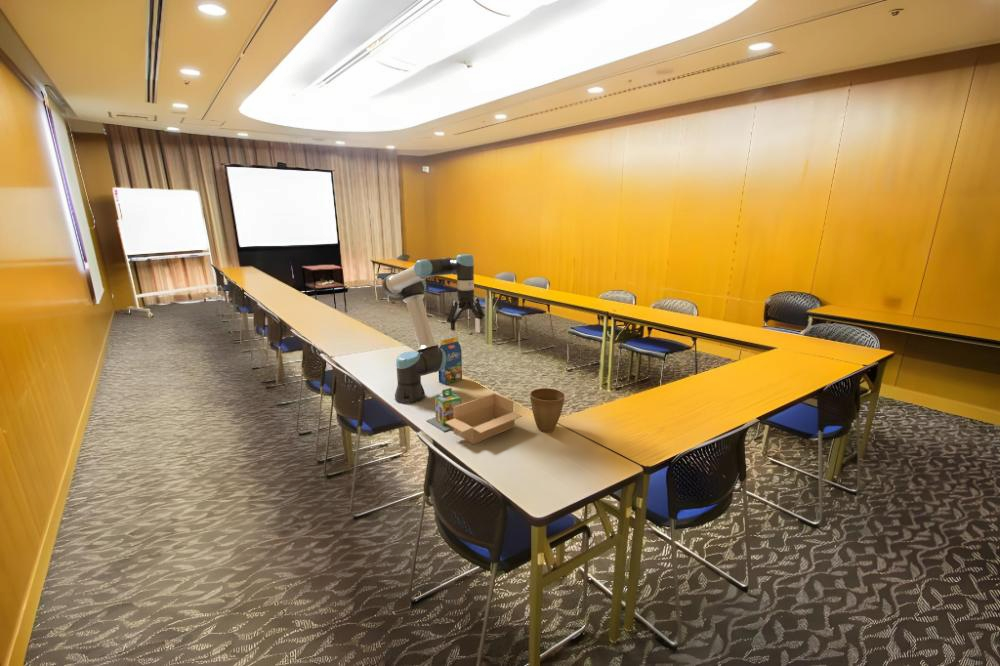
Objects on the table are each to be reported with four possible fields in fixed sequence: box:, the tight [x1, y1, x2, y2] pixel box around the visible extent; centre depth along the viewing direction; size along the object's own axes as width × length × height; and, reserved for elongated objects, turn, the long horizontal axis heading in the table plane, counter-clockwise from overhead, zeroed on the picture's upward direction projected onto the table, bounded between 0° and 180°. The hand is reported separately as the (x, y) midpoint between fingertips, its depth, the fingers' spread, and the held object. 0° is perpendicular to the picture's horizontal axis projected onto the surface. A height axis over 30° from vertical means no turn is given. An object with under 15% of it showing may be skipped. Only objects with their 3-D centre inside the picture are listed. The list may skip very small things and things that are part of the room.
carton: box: [445, 392, 523, 445], centre depth 184 cm, size 18×28×12 cm, turn 132°
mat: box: [426, 416, 454, 433], centre depth 196 cm, size 14×14×1 cm
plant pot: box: [529, 387, 566, 433], centre depth 188 cm, size 15×15×16 cm
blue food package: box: [438, 336, 463, 385], centre depth 244 cm, size 6×12×25 cm, turn 134°
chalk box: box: [434, 387, 462, 426], centre depth 194 cm, size 9×9×15 cm
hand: (466, 334), depth 202 cm, fingers open, 13 cm apart
